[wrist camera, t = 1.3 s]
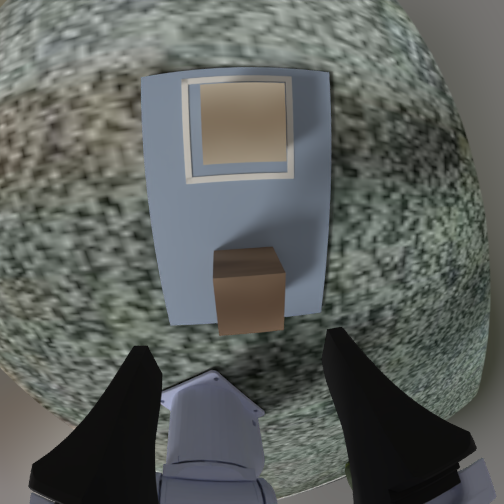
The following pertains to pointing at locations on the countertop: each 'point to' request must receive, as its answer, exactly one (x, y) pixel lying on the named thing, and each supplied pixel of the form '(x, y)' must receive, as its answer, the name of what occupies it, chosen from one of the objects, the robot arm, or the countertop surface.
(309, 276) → the board
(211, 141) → the maple block
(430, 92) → the countertop surface
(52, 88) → the countertop surface
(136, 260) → the countertop surface
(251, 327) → the walnut block
